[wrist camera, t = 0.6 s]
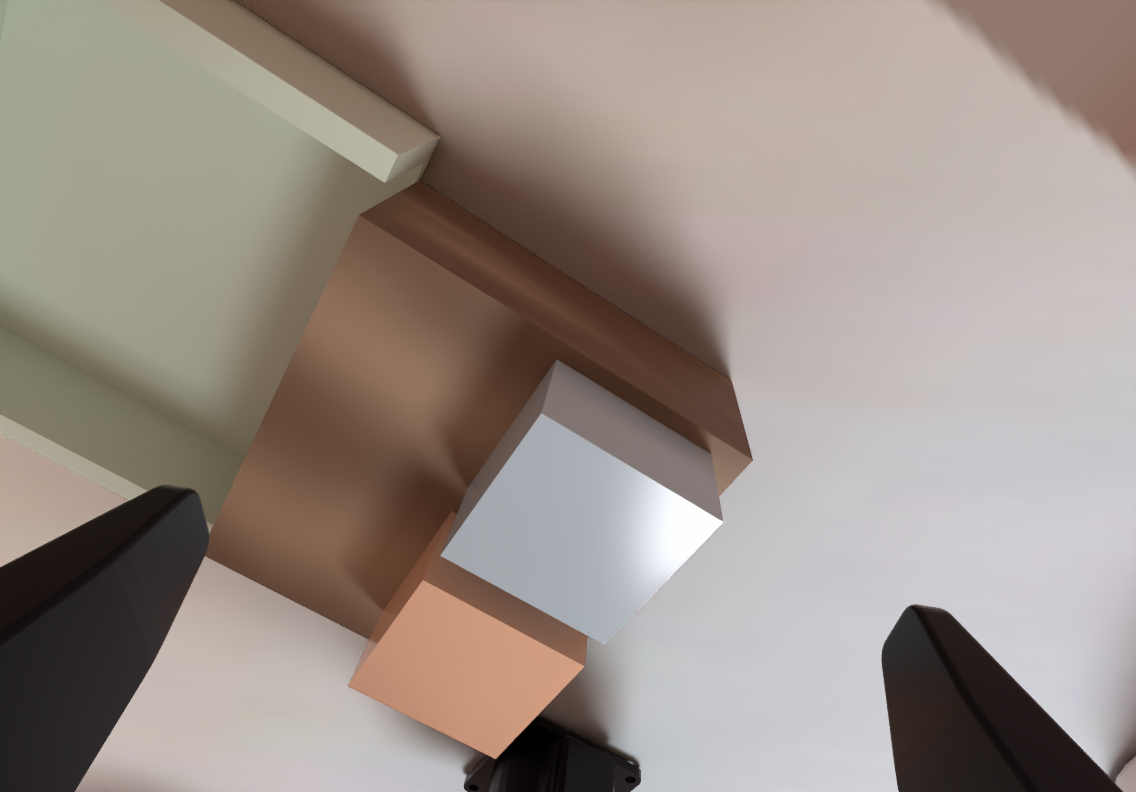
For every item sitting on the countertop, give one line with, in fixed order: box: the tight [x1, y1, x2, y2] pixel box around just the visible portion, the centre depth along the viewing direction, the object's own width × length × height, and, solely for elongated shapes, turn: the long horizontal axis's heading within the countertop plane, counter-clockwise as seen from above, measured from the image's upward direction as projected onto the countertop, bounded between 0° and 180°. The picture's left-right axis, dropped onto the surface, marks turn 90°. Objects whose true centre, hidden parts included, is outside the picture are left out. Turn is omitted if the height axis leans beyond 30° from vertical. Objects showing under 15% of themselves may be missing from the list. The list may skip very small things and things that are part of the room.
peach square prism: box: [348, 511, 588, 759], centre depth 20 cm, size 5×5×3 cm
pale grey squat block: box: [440, 359, 723, 645], centre depth 18 cm, size 5×5×3 cm
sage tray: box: [0, 0, 441, 533], centre depth 21 cm, size 15×13×4 cm
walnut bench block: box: [205, 181, 753, 640], centre depth 23 cm, size 13×12×5 cm
